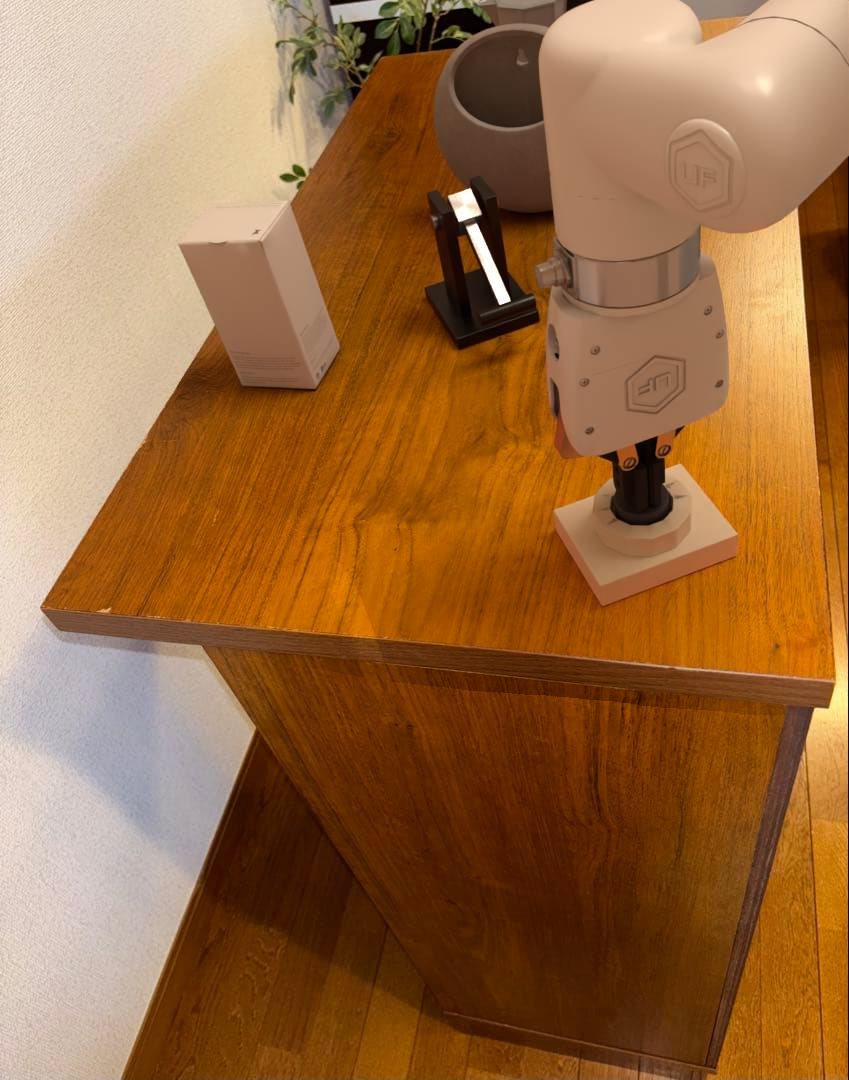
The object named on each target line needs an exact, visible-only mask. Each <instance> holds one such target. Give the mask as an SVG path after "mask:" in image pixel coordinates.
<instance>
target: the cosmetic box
mask: <svg viewBox="0 0 849 1080" xmlns="http://www.w3.org/2000/svg"><path fill="white" fill-rule="evenodd" d="M177 245H178V248H179V249H180V252H181V254H182V256H183V258H184V260H185V262H186V265H187V268H188V269H189V272H190V274H191V276H192V278H193V280H194V282H195V284H196V287H197V289H198V291H199V294H200V296H201V298H202V300H203V302H204V304H205V307H206V310H207V311H208V314H209V315H210V318H211V319H212V322H213V324H214V326H215V328H216V331H217V333H218V335H219V338H220V340H221V343H222V344H223V346H224V349H225V350H226V353H227V355H228V357H229V360H230V362H231V364H232V366H233V369H234V370H235V373H236V375H237V377H238V379H239V381H240V384H241V386H242V387H257V388H258V387H261V388H282V389H302V390H303V389H304V390H316V389H317V388H318V386H319V385H320V383H321V382H322V380H323V378H324V376H325V375H326V373H327V372H328V371H329V368H330V366H331V365H332V363H333V361H334V360H335V358H336V356H337V355H338V353H339V351H340V349H341V345H340V343H339V340H338V336H337V335H336V331H335V327H334V326H333V323H332V319H331V318H330V314H329V311H328V308H327V306H326V303H325V300H324V297H323V294H322V291H321V288H320V285H319V283H318V282H319V281H318V280H317V277H316V274H315V271H314V267H313V266H312V263H311V260H310V257H309V253H308V250H307V248H306V245H305V242H304V240H303V236H302V234H301V231H300V227H299V225H298V223H297V219H296V217H295V213H294V211H293V208H292V205H291V202H290V200H276V201H275V200H274V201H272V200H271V201H253V202H222V203H218V202H217V203H216V202H215V203H210V204H209V205H208V206H207V207H206V208H205V210H204V211H203V212H202V213H201V215H200V216H199V217H198V218H197V220H196V221H195V222H194V224H193V225H192V226H191V227H190V229H188V231H187V232H186V233H185V234H184V235H183V237H182V238H181V239H180V240H179V241H178V243H177Z"/></svg>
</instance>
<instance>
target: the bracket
mask: <svg viewBox="0 0 849 1080" xmlns="http://www.w3.org/2000/svg"><path fill="white" fill-rule="evenodd" d="M469 181H470V187H471V190H472V192H473V194H474V197H475V199H476V201H477V204H478V206H479V208H480V210H481V213H482V223H481V230H480V231H481V233H482V236H483V238H484V240H485V243H486V245H487V247H488V249H489V252H490V254H491V256H492V258H493V261H494V263H495V265H496V268H497V270H498V272H499V274H500V277H501V279H502V281H503V284H504V286H505V288H506V290H507V293H508V295H509V297H510V299H511V300H512V299H515V298H518V297H521V296H524V295H527V294H526V293H525V291H524V290H523V289H522V287H521V286H520V285H519V284H518V282H517V281H516V280H515V278H514V277H513V276H512V274H511V273H510V272H509V270H508V262H507V257H506V249H505V244H504V237H503V230H502V223H501V218H500V217H501V216H500V215H501V214H500V208H499V204H498V200H497V195H496V194H495V193H494V192H493V191H492V190H491V188H490V187H489V186H488V185H487V184H486V183H485V181H484V180H483V179H482V178H481V177H480V176H476V177H473V178H470V179H469ZM426 197H427V202H428V207H429V212H430V215H429V221H430V225H431V228H432V230H433V232H434V237H435V242H436V246H437V252H438V257H439V263H440V266H441V271H442V277H443V280H441V281H439V282H436V283H433V284H430V285H428V286H425V287H424V293H425V294H424V295H425V298H426V299H427V301H428V303H429V305H430V306H431V307H432V309H433V311H434V313H435V314H436V316H437V317H438V318H439V320H440V322H441V323H442V325H443V327H444V329H445V330H446V332H447V333H448V335H449V336H450V339H452V341H453V343H454V344H455V346H456V348H457V349H458V350H462V349H466V348H468V347H470V346H473V345H476V344H479V343H482V342H485V341H488V340H491V339H493V338H497V337H500V336H502V335H506V334H508V333H510V332H514V331H516V330H519V329H522V328H525V327H528V326H530V325H534V324H536V323H539V322H540V321H541V320H540V311H539V309H538V308H537V307H536V308H534V309H532V310H529V311H526V312H523V313H520V314H517V315H514V316H512V317H509V318H506V319H503V320H500V321H497V322H494V323H492V324H489V325H486V326H483V327H481V325H480V324H479V321H478V318H477V312H478V311H481V310H484V309H487V308H490V307H492V306H495V305H496V303H495V301H494V298H493V296H492V294H491V291H490V289H489V287H488V285H487V282H486V280H485V278H484V275H483V273H482V271H481V268H480V267H479V268H477V269H473V270H471V271H467V272H465V269H464V263H463V259H462V252H461V248H460V242H459V237H458V236H457V230H456V225H455V220H454V214H453V210H452V209H451V207H450V206H449V205H448V203H447V200H446V199H445V197H443V195H442V194H441V193H440V191H439V190H438V189H434V190H431V191H428V192H426Z"/></svg>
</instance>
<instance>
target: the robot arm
mask: <svg viewBox="0 0 849 1080" xmlns="http://www.w3.org/2000/svg"><path fill="white" fill-rule="evenodd" d="M702 31H703V30H702V27H701V24H700V22H699V19H698V17H697V15H696V14H695V12H694V11H693V9H692V8H691V7H690V6H689V5H688V4H686V3H685V2H684V1H681V0H594V1H591V2H588V3H585V4H583V5H580V6H578V7H576V8H574V9H572V10H570V11H568V12H566V13H565V14H563V15H562V16H561V17H559V18H558V19H557V20H556V21H555V22H554V23H553V24H552V25H551V26H550V28H549V29H548V30H547V32H546V34H545V36H544V38H543V40H542V44H541V48H540V51H539V78H540V88H541V97H542V107H543V116H544V126H545V135H546V145H547V154H548V163H549V174H550V183H551V193H552V202H553V210H552V211H553V219H554V229H555V236H552V247H553V249H552V253H551V256H550V257H548V258H546V260H545V261H543V262H541V263H538V264H535V265H534V267H533V270H534V276H535V280H536V282H537V285H538V287H539V288H540V289H541V290H545V289H547V288H550V294H549V301H548V307H547V315H546V330H545V368H546V369H545V372H546V389H547V398H548V405H549V410H550V413H551V416H552V417H553V419H555V420H556V427H555V432H554V439H553V446H554V448H555V450H556V451H557V453H558V455H560V457H561V459H562V460H573V459H578V458H585V457H599V458H601V459H604V460H606V461H609V462H611V468H612V478H613V482H614V486H615V489H616V491H617V492H618V494H619V495H620V497H621V498H625V497H628V498H629V500H630V501H631V503H632V504H633V505H634V507H635V508H636V510H637V511H638V512H641V511H643V510H646V509H647V507H648V504H649V505H650V506H651V505H652V506H653V507H654V506H657V505H660V504H661V484H663V483H665V469H666V458H667V457H668V456H670V454H671V453H672V452H673V449H674V446H675V445H674V443H675V439H676V437H678V435H679V434H680V433H681V432H682V430H683V429H684V428H685V427H686V426H687V425H690V424H693V423H696V422H699V421H700V420H703V419H705V418H707V417H710V416H711V415H713V414H715V413H716V412H717V411H719V410H720V409H721V408H722V407H723V406H724V405H725V404H726V402H727V399H728V396H729V390H730V388H729V387H730V358H729V357H730V354H729V342H728V340H729V339H728V329H727V319H726V313H725V307H724V306H725V305H724V301H723V294H722V289H721V284H720V279H719V276H718V272H717V267H716V264H715V261H714V260H713V258H712V257H711V256H709V255H708V254H707V253H705V252H703V251H702V250H701V247H702V245H701V241H702V240H701V238H702V236H701V235H702V234H701V233H702V227H704V228H706V229H710V230H713V231H715V232H720V233H721V232H722V233H726V234H738V235H740V234H751V233H754V232H759V231H763V230H765V229H767V228H769V227H771V226H773V225H775V224H777V223H779V222H780V221H782V220H783V219H785V218H786V217H787V216H788V215H790V214H791V213H792V212H794V211H795V210H796V209H797V208H798V207H799V206H800V205H801V204H802V203H803V202H805V201H806V199H807V198H808V197H810V195H812V194H813V192H814V191H815V190H816V189H818V187H820V186H821V184H822V183H824V182H825V181H826V180H827V179H828V178H829V177H830V176H831V175H832V174H833V173H834V172H835V171H836V169H838V168H839V166H840V165H842V163H843V162H844V161H845V160H846V159H847V158H848V157H849V0H767V1H766V2H765V3H764V4H762V5H761V6H760V7H758V8H757V9H756V10H755V11H753V12H752V13H750V15H748V16H747V17H745V18H744V19H743V20H742V21H740V22H739V23H738V24H736V25H735V26H734V27H732V29H730V30H727V31H725V32H723V33H720V34H718V35H716V36H714V37H712V38H709V39H707V40H705V41H703V32H702Z"/></svg>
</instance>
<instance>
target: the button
mask: <svg viewBox="0 0 849 1080" xmlns="http://www.w3.org/2000/svg"><path fill="white" fill-rule="evenodd" d="M614 504H615V516H616V518H617V519H618V520H620V521H622V522H625V523H627V524H629V525H641V526H649V525H652V524H654V523H657V522H660V521H662V520H664V519H665V518H666V517H667V516H668V515H669V493H668V490H667V489H666V487H665V486H664V485H663V484H661V504H660V505H657V506H654V507H653V506H652V505H651V506H650V505H649V504H648V507H647V509H646V510H643V511H641V512H638V511H637V510H636V508H635V507H634V505H633V504H632V503H631V501H630V500H629V498H628V497H625V498H621V497H620V495H619V494H618V492H617V491H616V492H615V495H614Z"/></svg>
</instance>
